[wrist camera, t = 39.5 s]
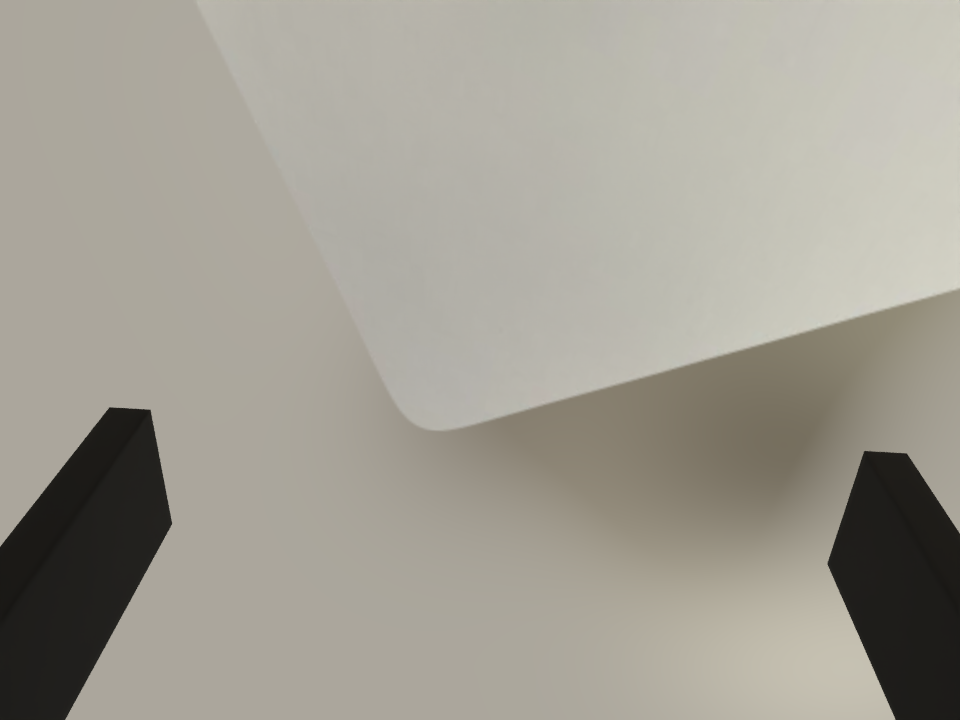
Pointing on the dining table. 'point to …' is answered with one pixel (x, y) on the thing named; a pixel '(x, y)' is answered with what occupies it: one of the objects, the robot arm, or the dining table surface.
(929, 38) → the dining table surface
